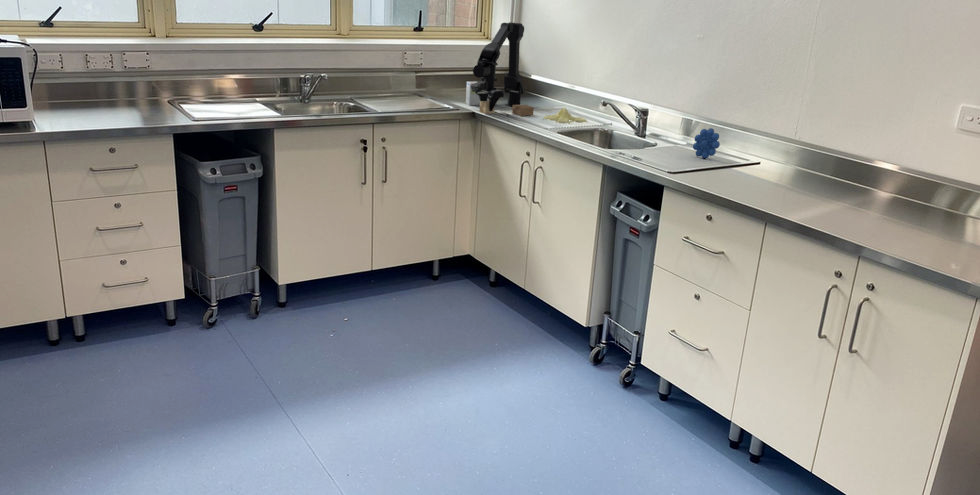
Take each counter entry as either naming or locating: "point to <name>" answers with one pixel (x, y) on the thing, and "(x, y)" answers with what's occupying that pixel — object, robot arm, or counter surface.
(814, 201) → the counter surface
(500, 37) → the robot arm
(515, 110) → the walnut base block
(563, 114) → the cloth
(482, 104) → the oak cube
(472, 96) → the light bulb box
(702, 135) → the blue flower shape
